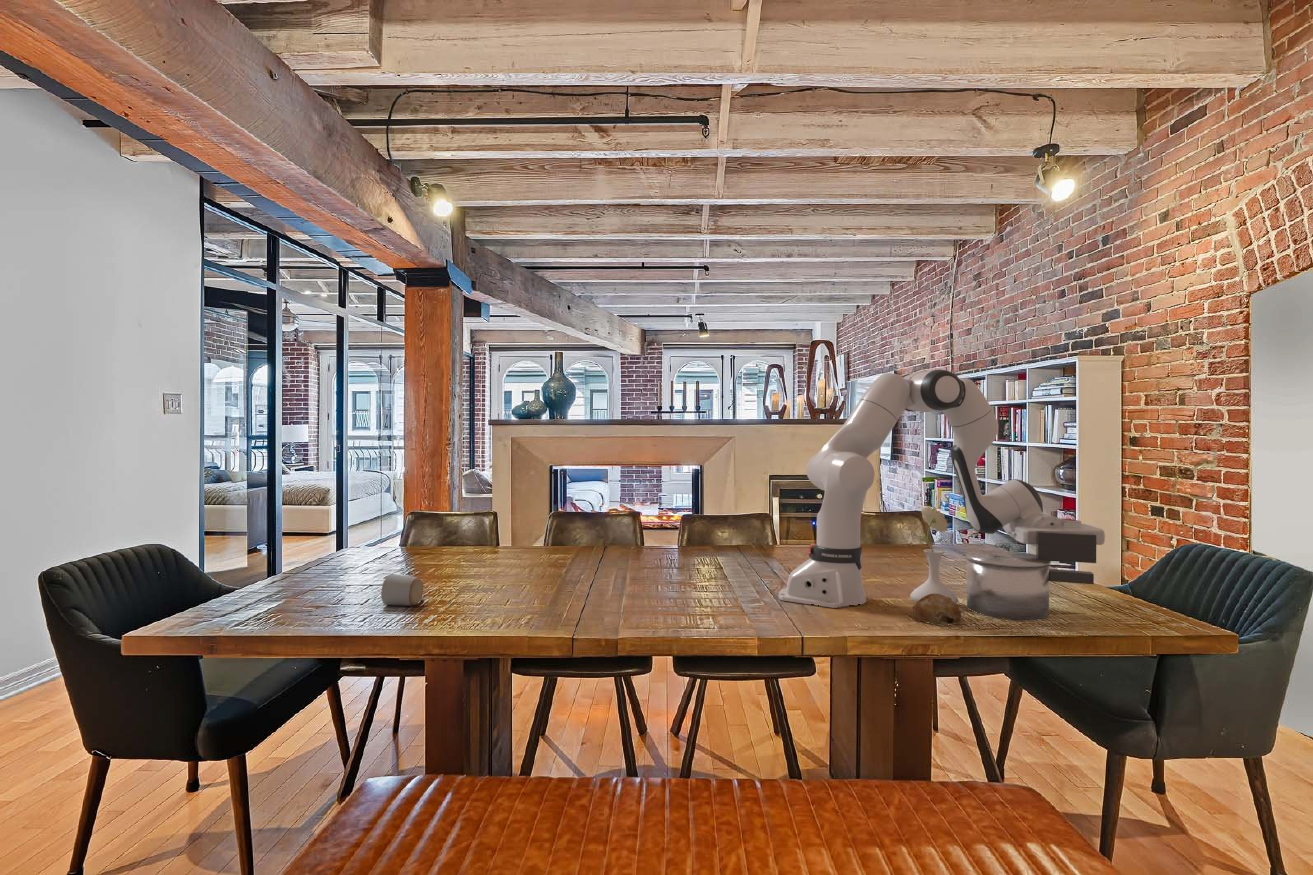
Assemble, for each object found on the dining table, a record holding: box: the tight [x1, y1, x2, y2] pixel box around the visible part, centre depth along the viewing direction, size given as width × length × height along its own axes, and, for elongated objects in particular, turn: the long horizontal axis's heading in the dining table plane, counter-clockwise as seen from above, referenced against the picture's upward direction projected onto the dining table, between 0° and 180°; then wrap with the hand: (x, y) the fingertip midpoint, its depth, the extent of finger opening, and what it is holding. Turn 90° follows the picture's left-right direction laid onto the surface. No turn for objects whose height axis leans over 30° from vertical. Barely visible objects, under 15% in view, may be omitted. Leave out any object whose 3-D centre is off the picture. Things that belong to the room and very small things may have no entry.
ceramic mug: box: [380, 573, 424, 607], centre depth 172 cm, size 11×8×8 cm
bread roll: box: [912, 594, 962, 626], centre depth 157 cm, size 10×10×8 cm
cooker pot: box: [966, 559, 1095, 622], centre depth 164 cm, size 27×18×12 cm, turn 68°
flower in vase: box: [909, 505, 959, 605], centre depth 172 cm, size 13×11×25 cm
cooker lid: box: [965, 531, 1097, 568], centre depth 164 cm, size 28×19×8 cm
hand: (1077, 540), depth 162 cm, fingers closed
